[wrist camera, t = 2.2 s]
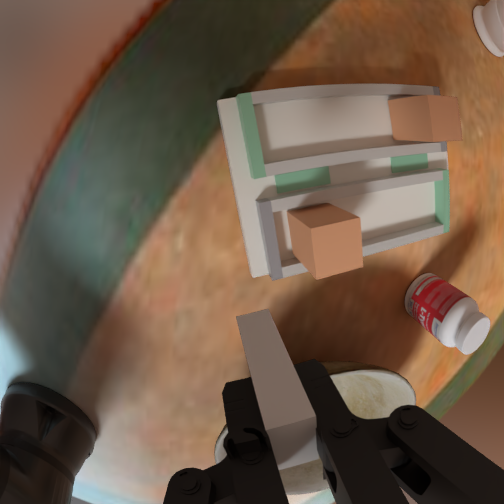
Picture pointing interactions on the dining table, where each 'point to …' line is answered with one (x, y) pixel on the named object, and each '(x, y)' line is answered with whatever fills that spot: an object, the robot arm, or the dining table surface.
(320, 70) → the dining table surface
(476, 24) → the jar
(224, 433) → the bowl
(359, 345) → the dining table surface
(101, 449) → the dining table surface
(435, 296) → the pill bottle
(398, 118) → the tab
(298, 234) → the tab
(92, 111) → the dining table surface
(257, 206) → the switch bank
